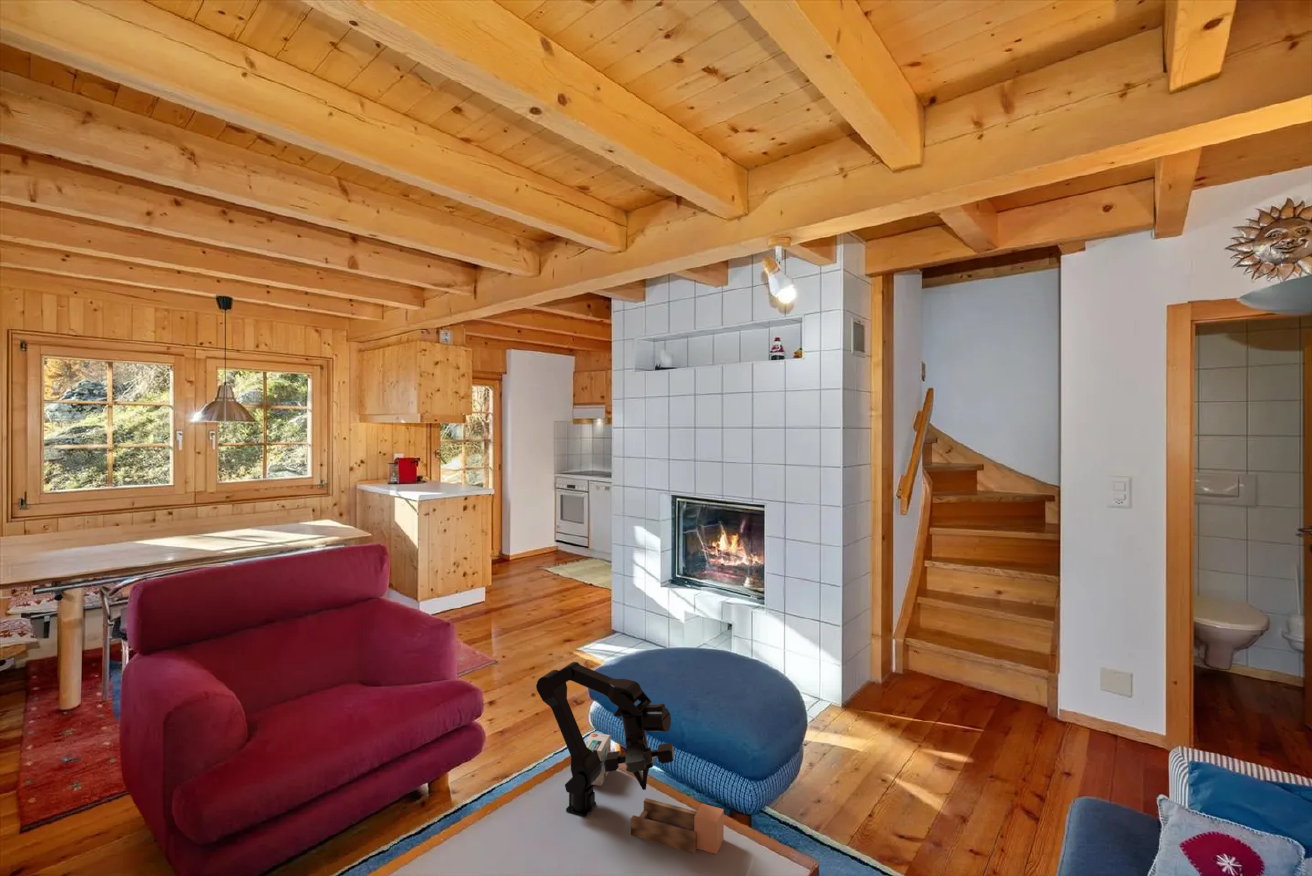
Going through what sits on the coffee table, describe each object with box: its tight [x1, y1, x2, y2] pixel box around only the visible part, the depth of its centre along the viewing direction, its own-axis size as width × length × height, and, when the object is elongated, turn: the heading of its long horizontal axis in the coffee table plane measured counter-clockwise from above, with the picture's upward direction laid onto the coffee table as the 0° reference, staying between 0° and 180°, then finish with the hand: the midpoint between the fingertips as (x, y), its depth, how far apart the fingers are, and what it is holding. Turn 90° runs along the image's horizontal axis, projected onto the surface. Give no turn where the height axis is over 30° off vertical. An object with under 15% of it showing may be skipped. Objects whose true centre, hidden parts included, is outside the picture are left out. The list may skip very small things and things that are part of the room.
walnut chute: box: [630, 797, 698, 855], centre depth 160 cm, size 18×10×4 cm, turn 67°
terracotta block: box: [693, 803, 725, 855], centre depth 156 cm, size 6×6×8 cm
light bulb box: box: [584, 732, 612, 787], centre depth 187 cm, size 11×7×11 cm, turn 168°
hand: (644, 789), depth 163 cm, fingers closed
